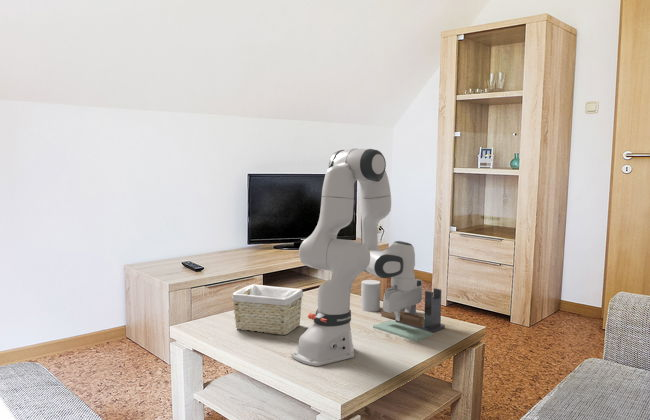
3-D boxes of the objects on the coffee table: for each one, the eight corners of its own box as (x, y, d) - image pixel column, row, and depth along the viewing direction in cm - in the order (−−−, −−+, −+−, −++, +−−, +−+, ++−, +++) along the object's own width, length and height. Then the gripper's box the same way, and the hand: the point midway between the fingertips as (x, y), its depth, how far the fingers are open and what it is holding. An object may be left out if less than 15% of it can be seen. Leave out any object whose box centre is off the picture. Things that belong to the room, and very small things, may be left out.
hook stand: (432, 332, 203) (433, 293, 201) (395, 321, 216) (396, 285, 214) (444, 328, 208) (445, 290, 206) (407, 317, 221) (408, 281, 219)
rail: (419, 327, 197) (419, 319, 197) (381, 316, 210) (381, 308, 209) (424, 325, 199) (424, 317, 199) (386, 314, 212) (386, 306, 212)
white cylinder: (382, 308, 235) (383, 281, 233) (374, 312, 228) (374, 285, 227) (366, 305, 239) (366, 279, 238) (357, 309, 232) (358, 282, 231)
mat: (416, 341, 193) (416, 339, 193) (373, 327, 208) (373, 325, 208) (432, 335, 200) (433, 333, 200) (389, 322, 215) (389, 320, 215)
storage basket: (230, 330, 206) (230, 292, 204) (251, 317, 221) (251, 283, 219) (286, 338, 197) (286, 299, 195) (304, 324, 212) (304, 288, 210)
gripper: (392, 290, 193) (391, 327, 195) (425, 280, 207) (424, 314, 209) (378, 286, 198) (378, 323, 199) (412, 277, 212) (411, 311, 214)
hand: (402, 318), depth 204 cm, fingers closed on rail, 3 cm apart
